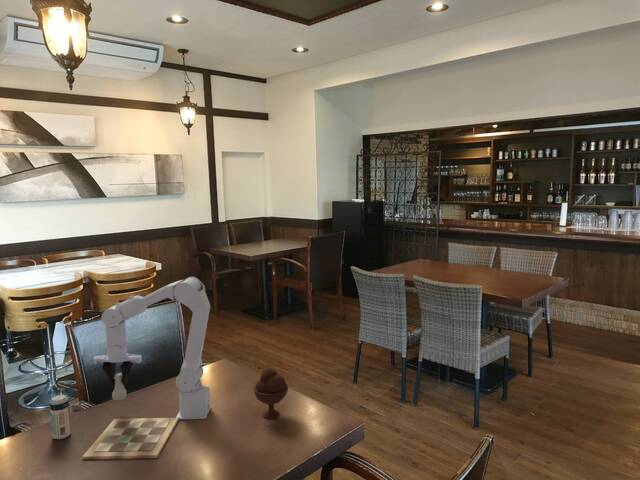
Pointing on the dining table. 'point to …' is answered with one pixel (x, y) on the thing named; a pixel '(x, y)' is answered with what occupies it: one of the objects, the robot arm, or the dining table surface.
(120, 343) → the robot arm
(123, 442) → the chessboard
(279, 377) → the ice cream bowl
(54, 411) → the white labeled bottle
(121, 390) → the rook chess piece
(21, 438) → the dining table surface
